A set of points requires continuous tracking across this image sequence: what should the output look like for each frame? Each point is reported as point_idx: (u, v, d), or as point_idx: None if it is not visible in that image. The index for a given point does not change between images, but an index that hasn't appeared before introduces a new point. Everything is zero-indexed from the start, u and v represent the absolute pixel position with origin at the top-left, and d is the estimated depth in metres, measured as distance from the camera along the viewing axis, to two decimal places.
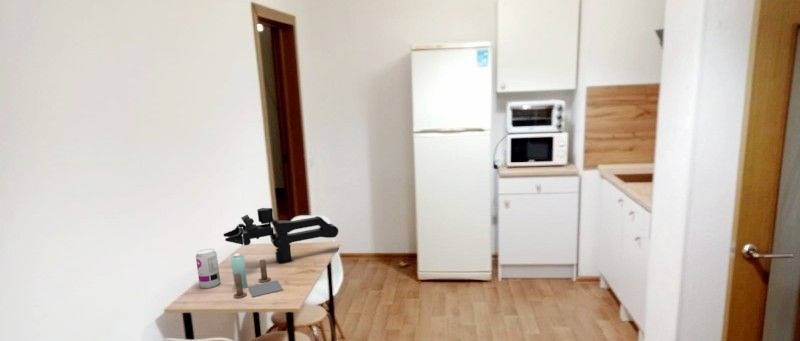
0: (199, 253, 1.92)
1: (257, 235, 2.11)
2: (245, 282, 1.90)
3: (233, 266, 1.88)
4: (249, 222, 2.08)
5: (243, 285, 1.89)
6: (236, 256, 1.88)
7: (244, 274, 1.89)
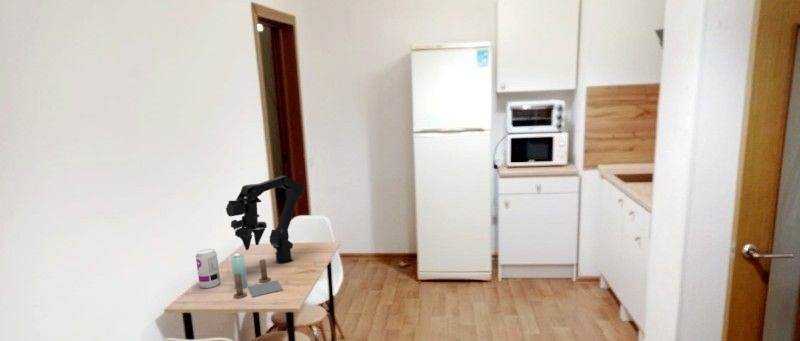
0: (199, 253, 1.92)
1: (250, 217, 2.03)
2: (245, 282, 1.90)
3: (233, 266, 1.88)
4: (234, 224, 2.03)
5: (243, 285, 1.89)
6: (236, 256, 1.88)
7: (244, 274, 1.89)
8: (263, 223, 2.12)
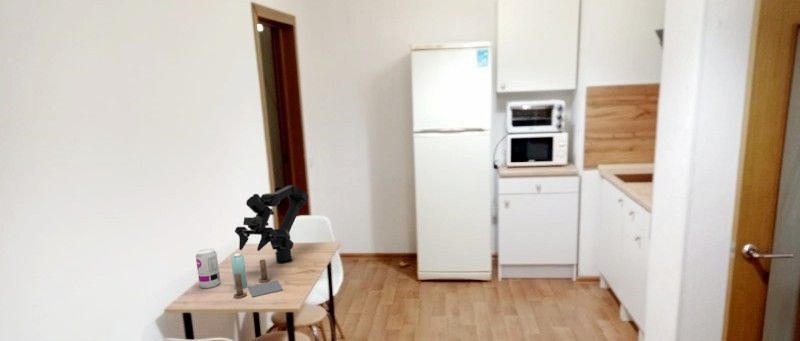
0: (199, 253, 1.92)
1: (266, 223, 2.04)
2: (245, 282, 1.90)
3: (233, 266, 1.88)
4: (259, 220, 1.96)
5: (243, 285, 1.89)
6: (236, 256, 1.88)
7: (244, 274, 1.89)
8: None
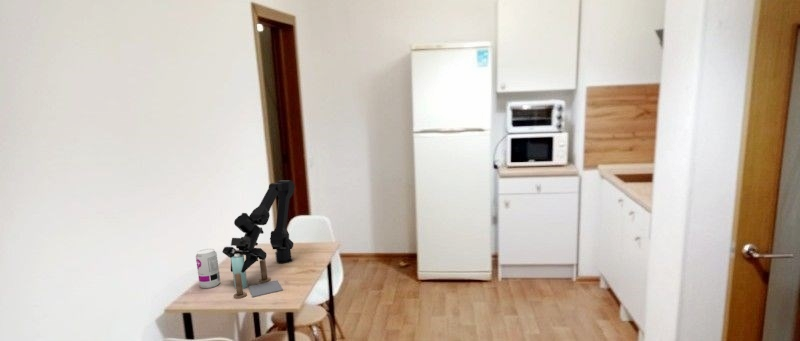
0: (199, 253, 1.92)
1: (255, 242, 1.97)
2: (245, 282, 1.90)
3: (233, 266, 1.88)
4: (247, 241, 1.89)
5: (243, 285, 1.89)
6: (236, 256, 1.88)
7: (244, 274, 1.89)
8: None
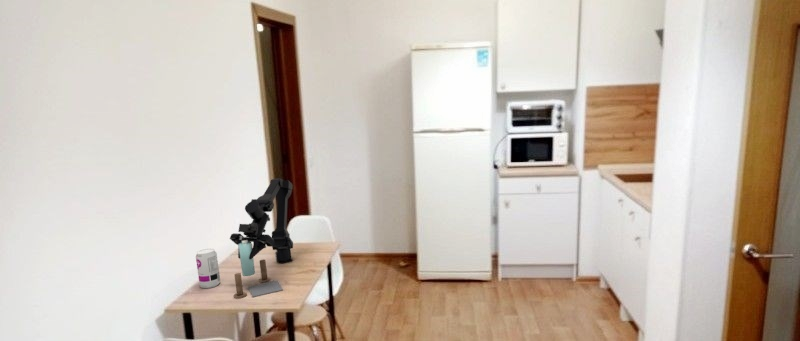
0: (199, 253, 1.92)
1: (263, 229, 1.94)
2: (253, 269, 1.87)
3: (241, 252, 1.85)
4: (255, 227, 1.86)
5: (251, 272, 1.86)
6: (244, 242, 1.85)
7: (252, 261, 1.87)
8: None
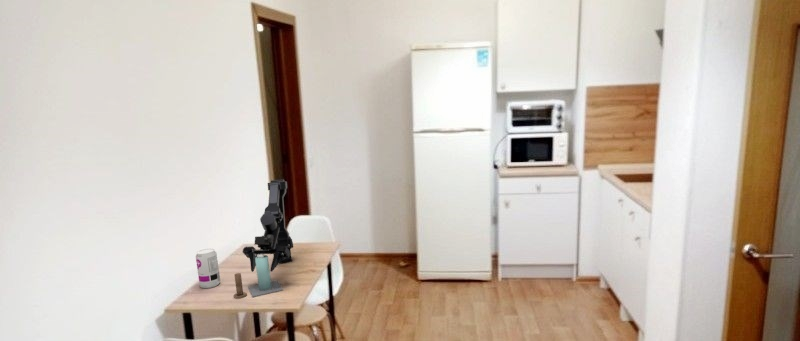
0: (199, 253, 1.92)
1: (276, 241, 1.93)
2: (270, 282, 1.86)
3: (258, 267, 1.83)
4: (272, 239, 1.86)
5: (268, 286, 1.85)
6: (261, 256, 1.84)
7: (269, 274, 1.86)
8: None
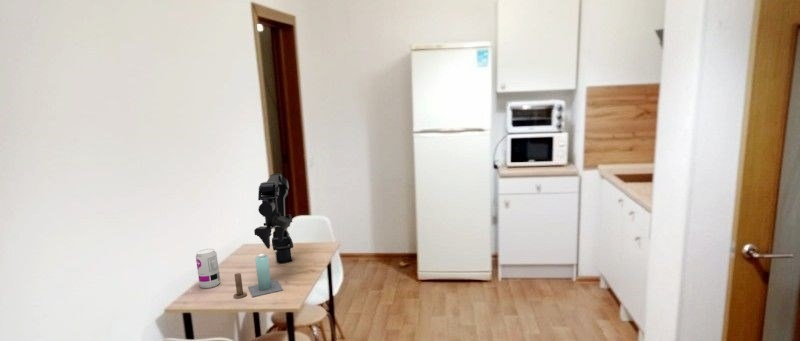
0: (199, 253, 1.92)
1: None
2: (270, 282, 1.86)
3: (258, 267, 1.83)
4: None
5: (268, 286, 1.85)
6: (261, 256, 1.84)
7: (269, 274, 1.86)
8: None
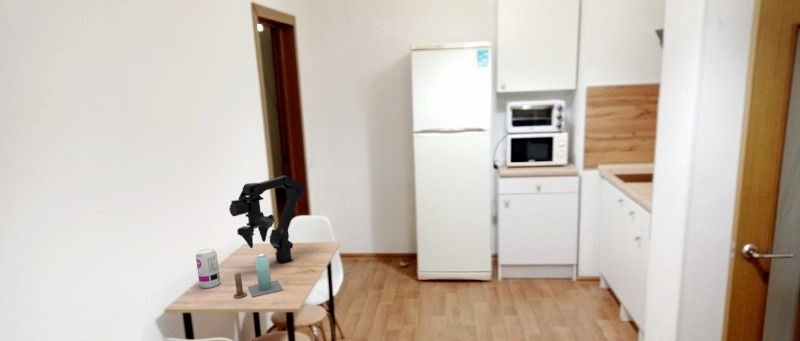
0: (199, 253, 1.92)
1: None
2: (270, 282, 1.86)
3: (258, 267, 1.83)
4: None
5: (268, 286, 1.85)
6: (261, 256, 1.84)
7: (269, 274, 1.86)
8: None
